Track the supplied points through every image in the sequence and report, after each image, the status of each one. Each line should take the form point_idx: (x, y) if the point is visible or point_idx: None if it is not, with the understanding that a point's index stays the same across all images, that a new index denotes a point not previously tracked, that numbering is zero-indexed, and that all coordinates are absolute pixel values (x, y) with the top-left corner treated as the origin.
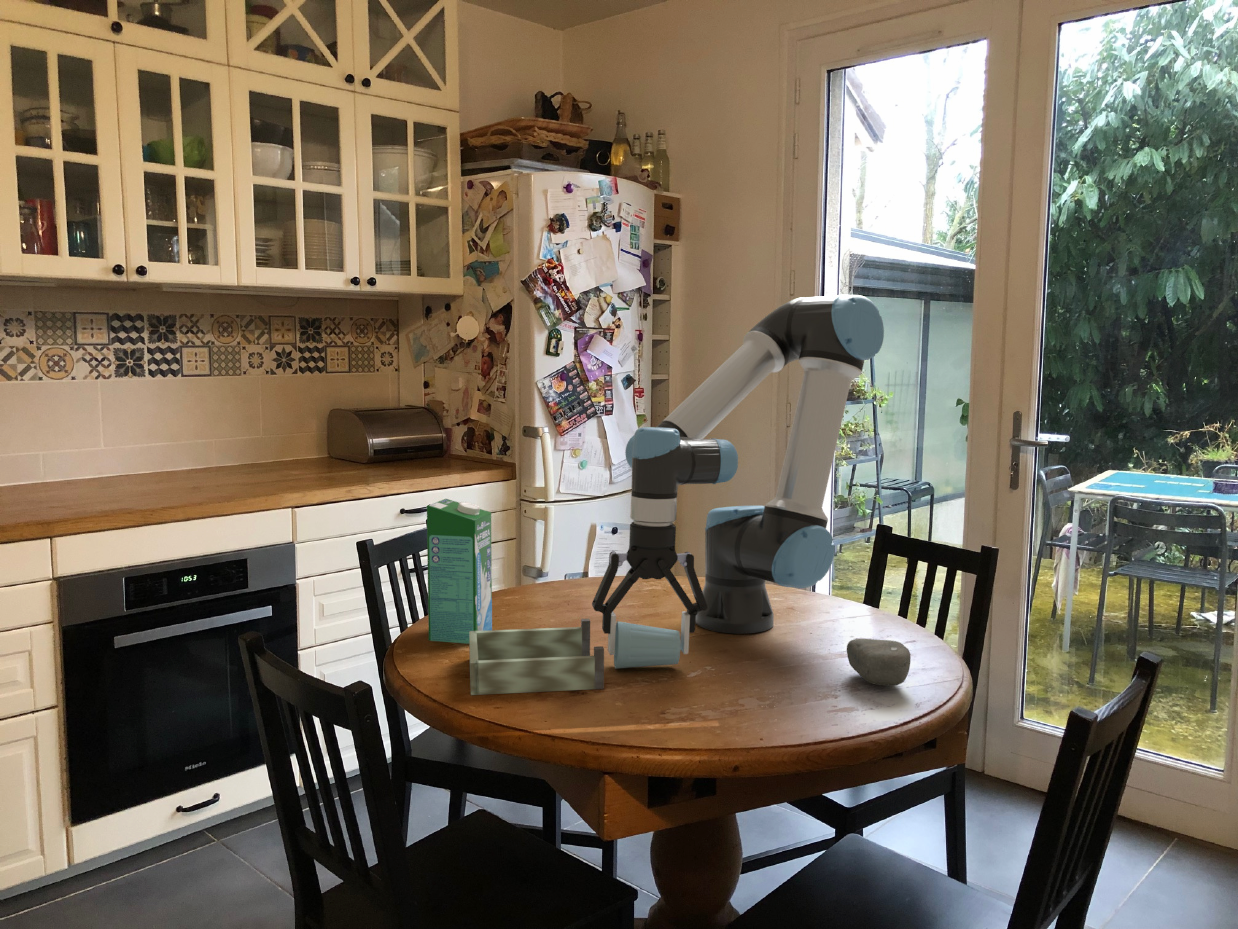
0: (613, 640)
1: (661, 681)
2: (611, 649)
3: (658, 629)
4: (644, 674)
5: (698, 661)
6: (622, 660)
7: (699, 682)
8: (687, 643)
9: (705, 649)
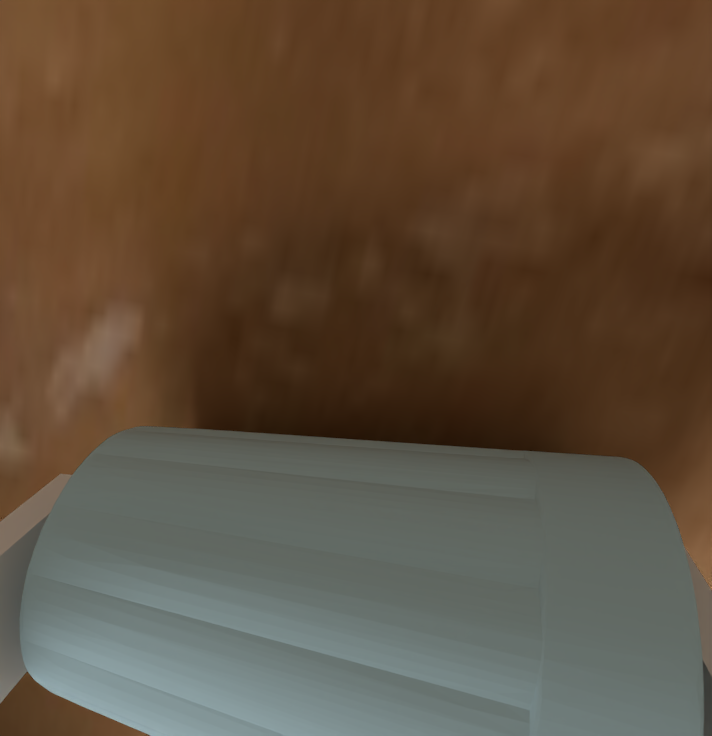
0: (705, 632)
1: (320, 250)
2: None
3: (201, 693)
4: (401, 403)
5: None
6: (582, 455)
7: (74, 186)
8: (11, 520)
9: None
